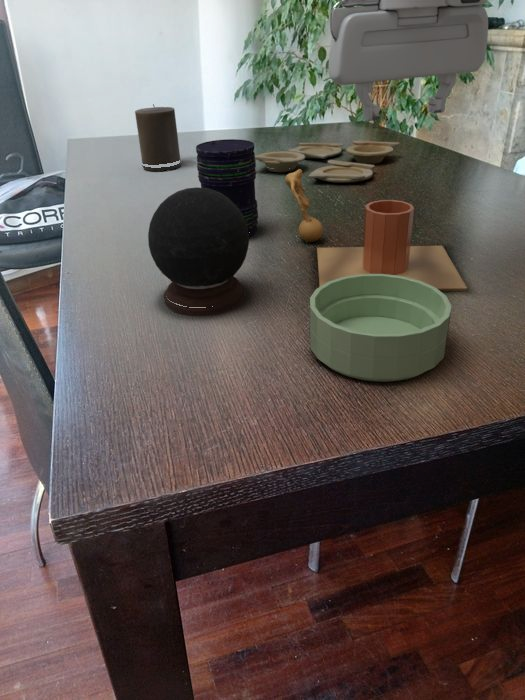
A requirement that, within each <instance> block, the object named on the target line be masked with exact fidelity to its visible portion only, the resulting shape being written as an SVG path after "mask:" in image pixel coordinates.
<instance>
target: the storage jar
mask: <svg viewBox="0 0 525 700" xmlns="http://www.w3.org/2000/svg"><path fill="white" fill-rule="evenodd" d="M195 152H196V154H197V155H196V161H197V162H196V169H197V178H198V181H199V184H200V188H208V189H212V190H214V191H217V192H220V193H221V194H223V195H224V196H226V197H227V198H229V199H230V200H231V201H232V202H233V203H234V204H235V205H236V206H237V207H238V208H239V210H240V211H241V213H242V215H243V217H244V219H245V222H246V225H247V227H248V234H249V240H250V239H252V238H254V237H256V236H257V235H258V233H259V227H258V223H259V210H258V200H257V199H256V181H255V180H256V178H257V172H256V167H257V163H256V162H257V161H256V159H255V155H256V153H255V142H254V141H251V140H247V139H239V138H238V139H236V138H235V139H233V138H230V139H226V138H225V139H216V140H210V141H205V142H202V143H201V142H200V143H199V144H197V145H196V146H195ZM249 232H250V233H249Z"/></svg>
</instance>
